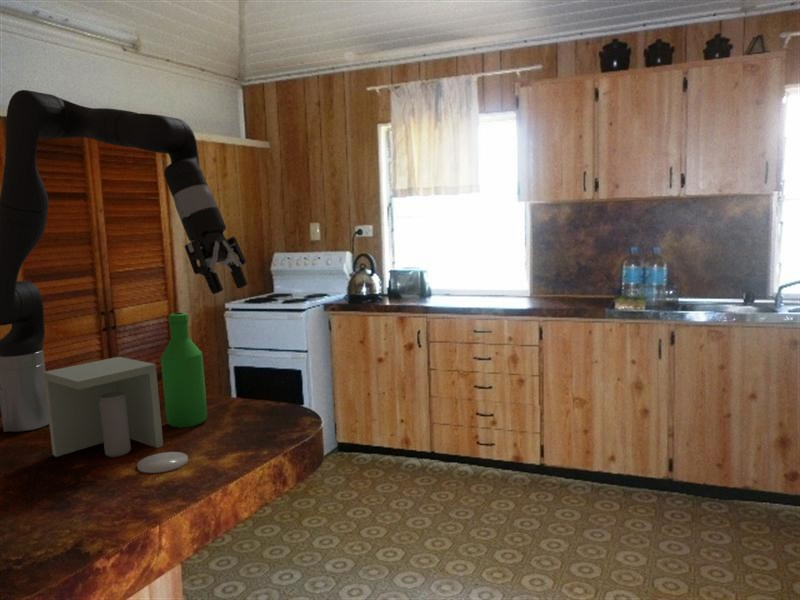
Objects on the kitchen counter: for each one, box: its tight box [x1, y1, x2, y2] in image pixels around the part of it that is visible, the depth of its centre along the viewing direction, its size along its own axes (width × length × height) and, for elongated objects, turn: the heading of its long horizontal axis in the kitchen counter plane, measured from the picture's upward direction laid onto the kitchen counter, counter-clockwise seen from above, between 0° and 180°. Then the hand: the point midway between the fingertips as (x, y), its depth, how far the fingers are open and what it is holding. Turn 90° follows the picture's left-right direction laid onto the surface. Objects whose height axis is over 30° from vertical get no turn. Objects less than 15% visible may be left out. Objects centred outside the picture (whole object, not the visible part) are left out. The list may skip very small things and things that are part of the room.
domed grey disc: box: [136, 451, 189, 474], centre depth 124 cm, size 9×9×1 cm
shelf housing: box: [43, 356, 164, 457], centre depth 131 cm, size 16×14×17 cm
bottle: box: [160, 312, 208, 429], centre depth 146 cm, size 9×9×25 cm
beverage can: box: [99, 392, 132, 458], centre depth 129 cm, size 5×5×12 cm
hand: (230, 289), depth 128 cm, fingers open, 8 cm apart
